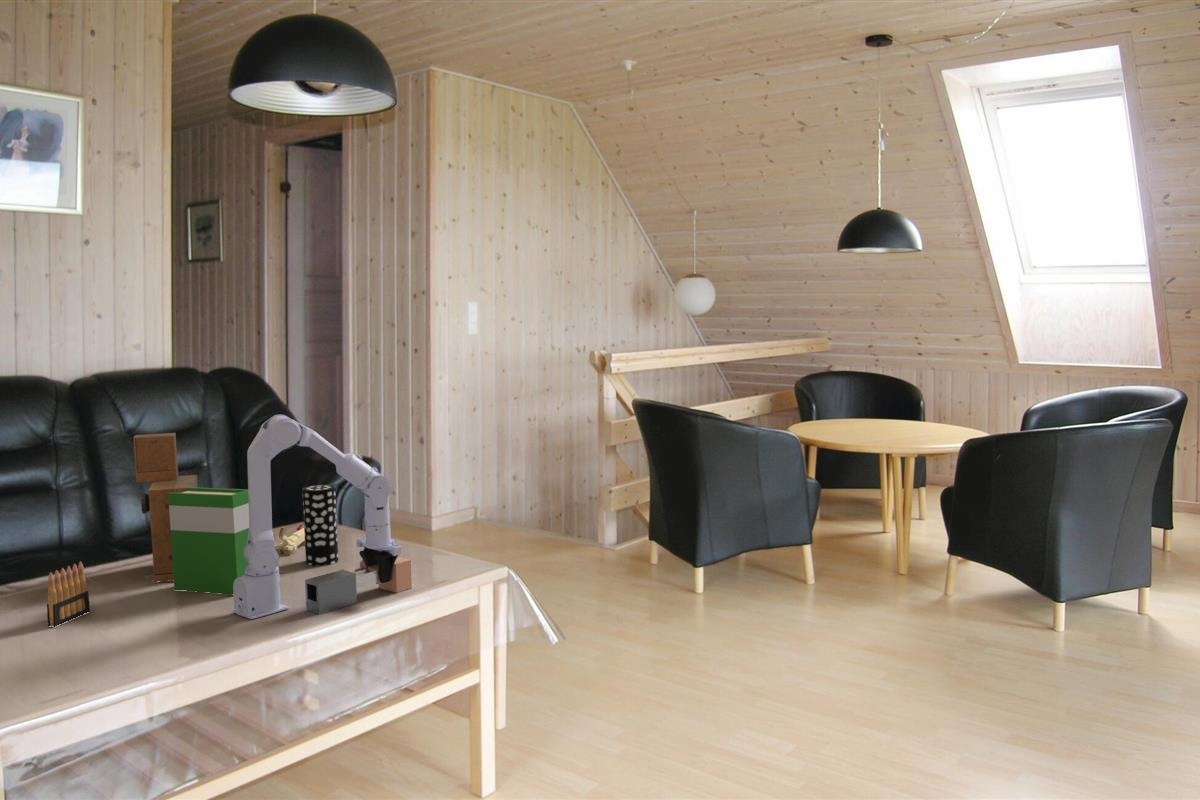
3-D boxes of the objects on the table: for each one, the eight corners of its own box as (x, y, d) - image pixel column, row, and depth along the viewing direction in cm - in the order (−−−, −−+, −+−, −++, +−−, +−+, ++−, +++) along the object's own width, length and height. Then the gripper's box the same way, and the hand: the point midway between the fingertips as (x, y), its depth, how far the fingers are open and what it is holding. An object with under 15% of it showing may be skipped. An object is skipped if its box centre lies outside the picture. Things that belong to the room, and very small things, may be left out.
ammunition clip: (55, 628, 211) (50, 573, 209) (47, 627, 211) (43, 573, 210) (90, 612, 221) (87, 560, 220) (83, 611, 221) (79, 560, 220)
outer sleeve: (319, 614, 216) (317, 583, 216) (306, 610, 220) (304, 579, 219) (357, 603, 224) (355, 573, 223) (344, 599, 227) (342, 569, 226)
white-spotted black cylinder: (345, 560, 262) (341, 486, 259) (320, 567, 255) (317, 492, 253) (323, 556, 266) (320, 483, 264) (299, 563, 259) (295, 489, 257)
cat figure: (298, 560, 267) (345, 532, 291) (295, 530, 266) (343, 503, 289) (266, 558, 270) (316, 530, 293) (263, 528, 268) (313, 502, 292)
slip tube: (341, 594, 222) (341, 579, 221) (332, 591, 224) (331, 576, 224) (400, 578, 234) (400, 563, 234) (391, 575, 236) (390, 561, 236)
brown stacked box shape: (144, 565, 260) (136, 434, 256) (202, 559, 265) (194, 431, 261) (136, 584, 242) (126, 444, 238) (198, 578, 247) (189, 440, 243)
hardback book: (174, 590, 236) (168, 493, 234) (194, 582, 243) (188, 487, 241) (238, 595, 232) (232, 495, 229) (256, 586, 239) (251, 489, 236)
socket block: (397, 592, 231) (395, 564, 231) (378, 587, 236) (377, 559, 235) (411, 588, 235) (410, 560, 234) (393, 583, 239) (392, 555, 239)
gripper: (410, 525, 229) (412, 581, 230) (372, 517, 238) (375, 571, 239) (386, 530, 223) (388, 588, 225) (348, 522, 233) (350, 578, 234)
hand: (380, 580), depth 232 cm, fingers closed on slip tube, 4 cm apart
